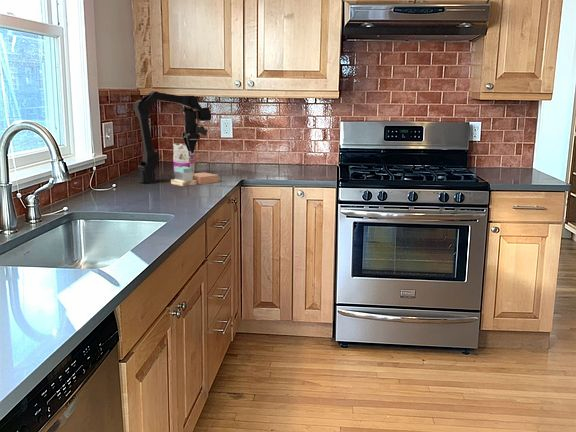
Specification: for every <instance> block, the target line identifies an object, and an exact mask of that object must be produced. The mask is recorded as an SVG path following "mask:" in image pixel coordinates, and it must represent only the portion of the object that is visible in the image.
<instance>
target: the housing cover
mask: <svg viewBox="0 0 576 432" xmlns="http://www.w3.org/2000/svg"><path fill="white" fill-rule="evenodd" d="M174 171H175V172H180V173H190V172H192V168H189V167H184V166H182V165H179V167H174Z"/></svg>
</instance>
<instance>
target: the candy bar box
mask: <svg viewBox="0 0 576 432" xmlns="http://www.w3.org/2000/svg"><path fill="white" fill-rule="evenodd" d="M172 146H173V147H172V148H173V151H172V152H173V154H172V155H173V157H172V159H173V160H172V161H173V166H172V168H173V169H172V171H173V172H172V174H173V175H174V167H179V165H182V166H184V167H189V168H192V172H193V174H194V173H196V170H195V168H196V167H195V166H196V164H195V160H196V156H195V154H196V151H195V150H196V148H195V149H194V153H191V151H188V149H187V147H186V145H185V143H172Z"/></svg>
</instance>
